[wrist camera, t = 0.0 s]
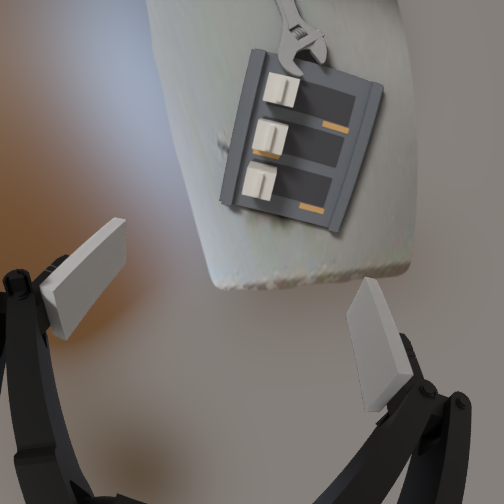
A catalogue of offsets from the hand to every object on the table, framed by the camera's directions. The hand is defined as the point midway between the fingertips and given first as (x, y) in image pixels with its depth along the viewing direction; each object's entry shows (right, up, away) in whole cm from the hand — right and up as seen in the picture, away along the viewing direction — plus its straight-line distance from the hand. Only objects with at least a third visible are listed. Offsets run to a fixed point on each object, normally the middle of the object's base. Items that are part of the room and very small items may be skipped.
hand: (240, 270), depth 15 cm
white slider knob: (+3, +16, +21) cm, 27 cm away
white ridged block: (+2, +11, +24) cm, 26 cm away
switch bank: (+7, +16, +23) cm, 29 cm away
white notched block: (+4, +21, +18) cm, 28 cm away
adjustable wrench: (+5, +35, +12) cm, 37 cm away
